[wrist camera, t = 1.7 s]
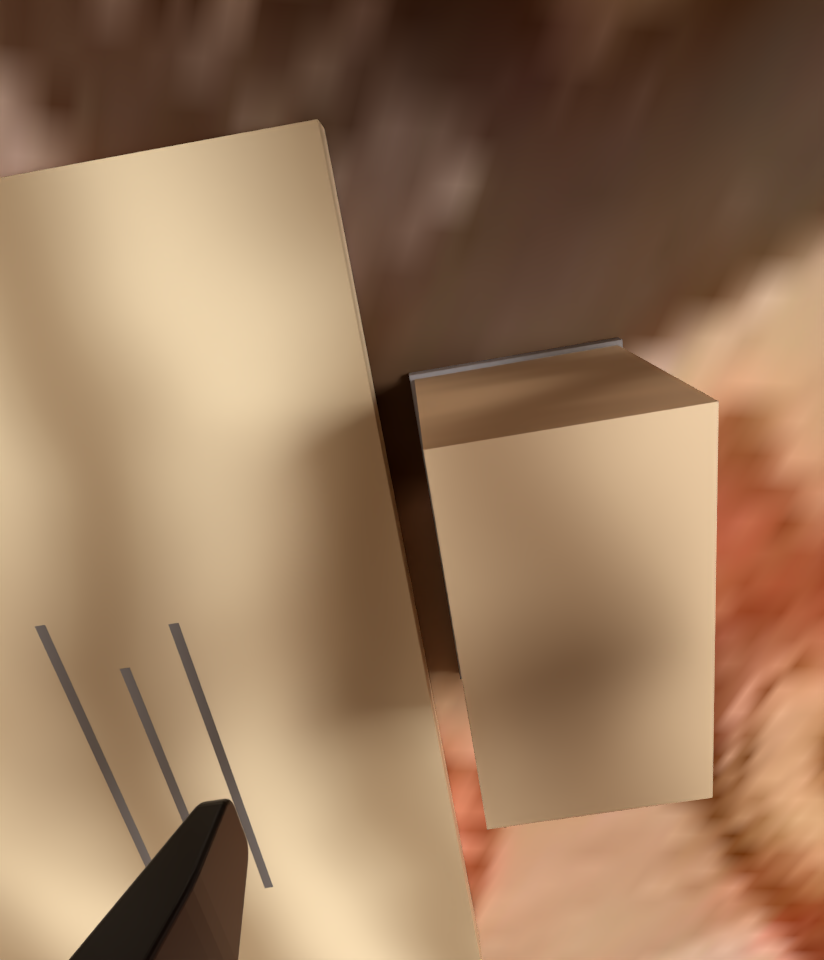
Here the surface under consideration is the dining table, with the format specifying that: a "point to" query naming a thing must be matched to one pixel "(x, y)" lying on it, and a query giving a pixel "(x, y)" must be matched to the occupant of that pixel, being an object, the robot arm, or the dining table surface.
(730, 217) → the dining table surface
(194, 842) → the robot arm
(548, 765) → the block
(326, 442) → the board
